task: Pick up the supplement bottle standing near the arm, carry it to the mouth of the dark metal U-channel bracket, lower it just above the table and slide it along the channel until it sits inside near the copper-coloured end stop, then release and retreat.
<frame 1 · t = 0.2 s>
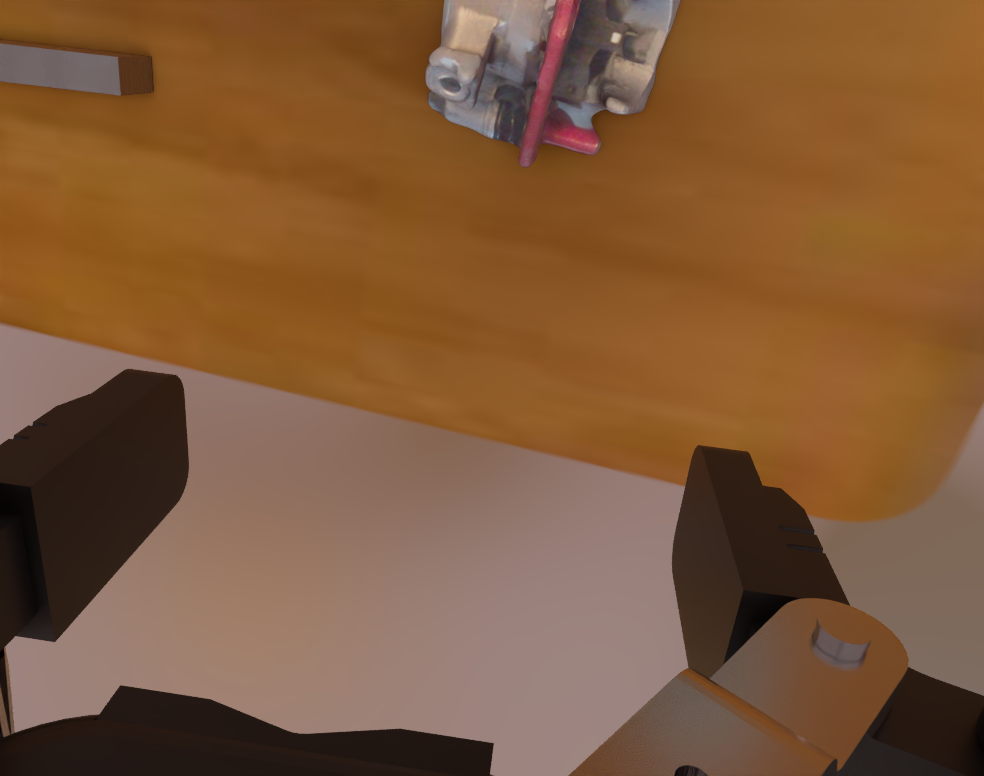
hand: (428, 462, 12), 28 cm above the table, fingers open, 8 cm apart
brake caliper: (556, 23, 36), on the table
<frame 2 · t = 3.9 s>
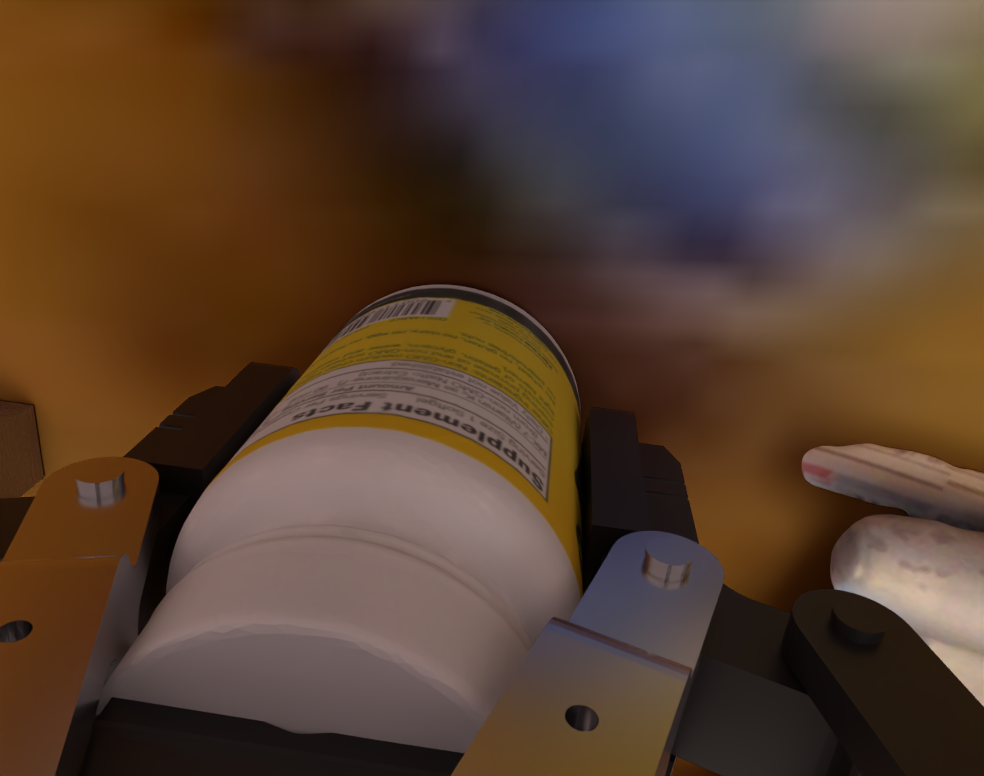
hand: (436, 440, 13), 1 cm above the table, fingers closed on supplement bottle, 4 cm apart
supplement bottle: (452, 401, 15), on the table, touching gripper
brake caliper: (920, 698, 16), on the table
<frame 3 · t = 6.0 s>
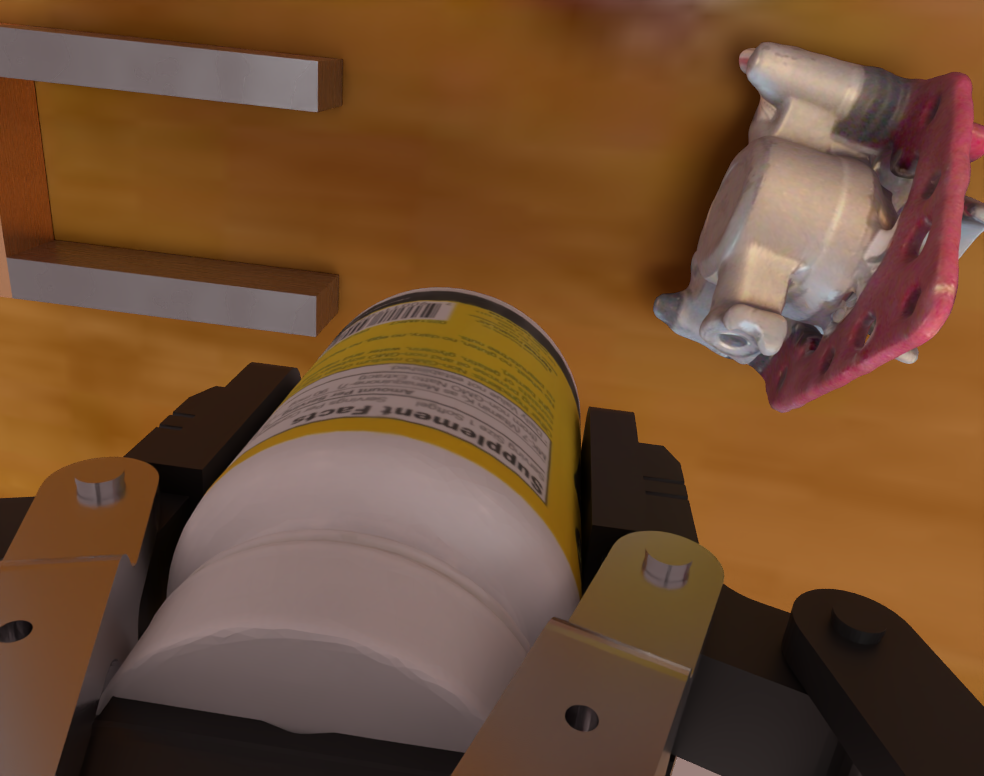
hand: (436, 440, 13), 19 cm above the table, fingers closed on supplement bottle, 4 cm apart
supplement bottle: (452, 403, 15), point 18 cm above the table, touching gripper
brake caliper: (803, 217, 30), on the table
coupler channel: (190, 176, 31), on the table
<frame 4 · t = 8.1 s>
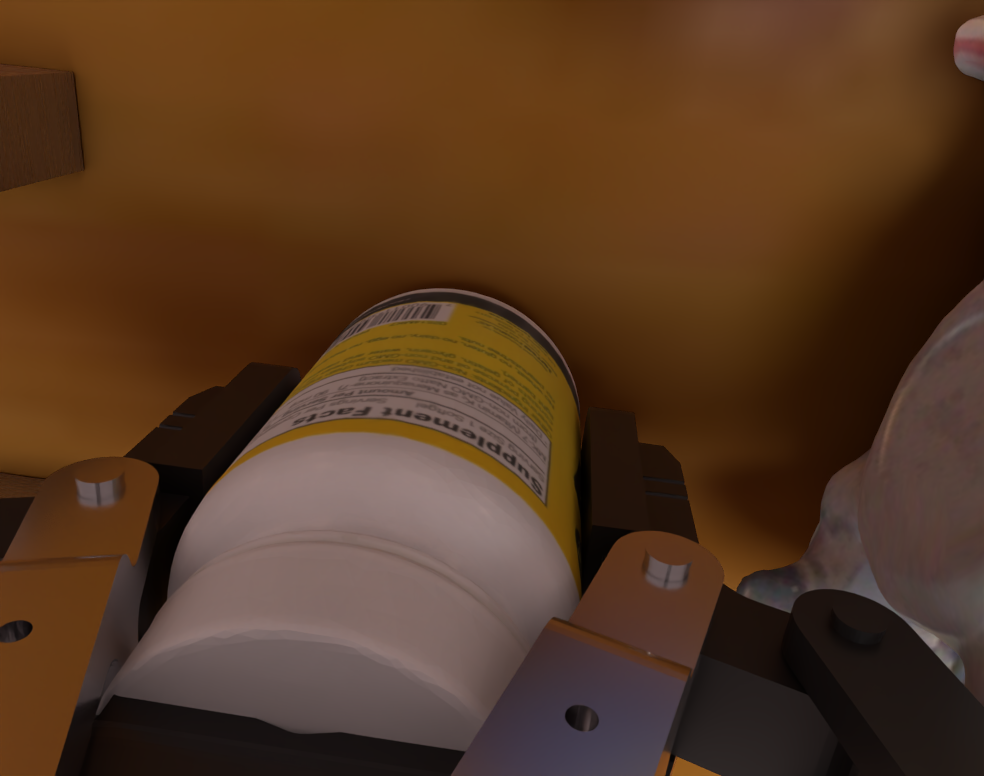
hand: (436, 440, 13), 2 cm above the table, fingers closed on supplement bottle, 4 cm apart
supplement bottle: (452, 404, 15), on the table, touching gripper
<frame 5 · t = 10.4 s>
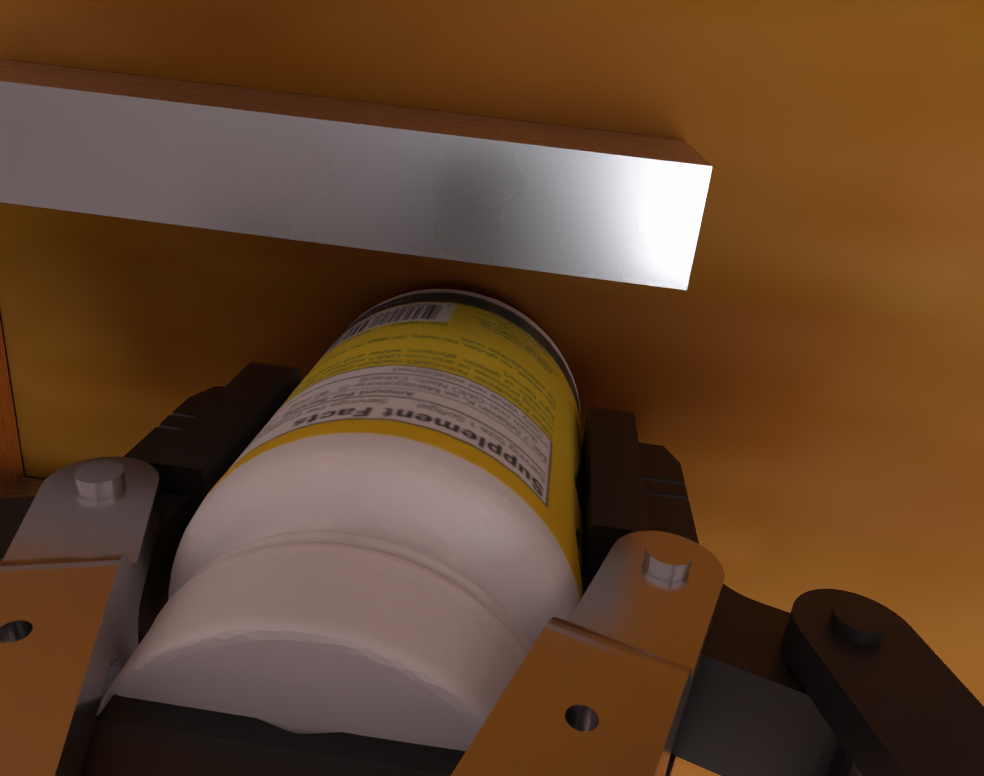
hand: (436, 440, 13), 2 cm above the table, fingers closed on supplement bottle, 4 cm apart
supplement bottle: (453, 404, 15), on the table, touching gripper
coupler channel: (309, 370, 15), on the table
when the fingers open (2 cm above the table, at t = 12.5 s): supplement bottle stays where it is, on the table.
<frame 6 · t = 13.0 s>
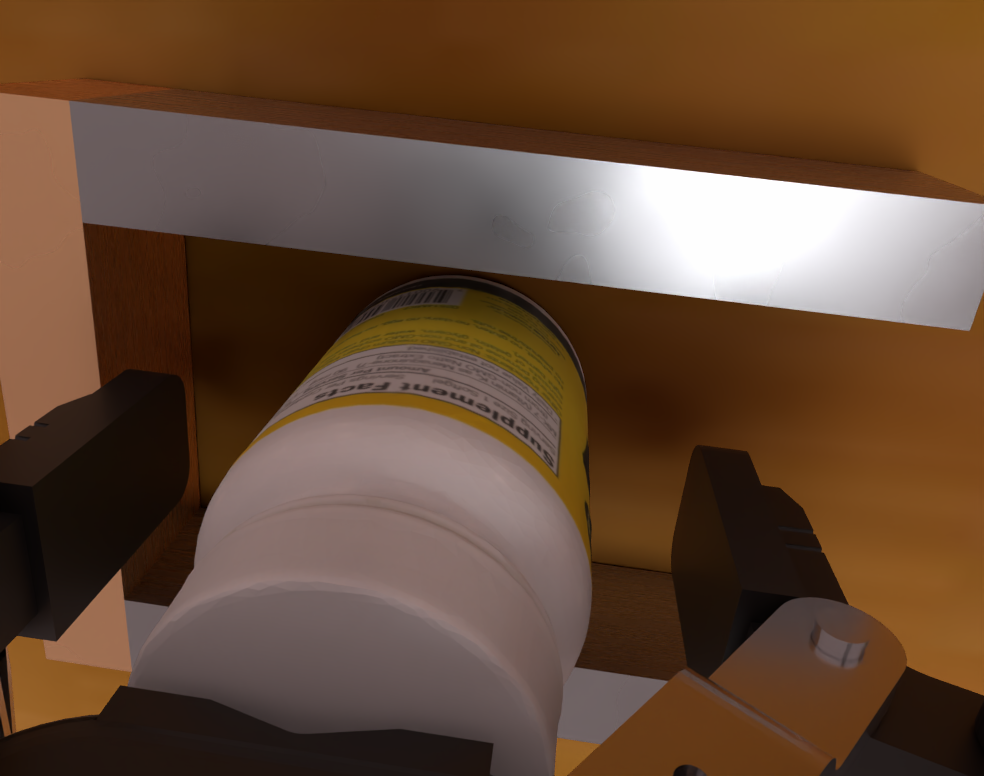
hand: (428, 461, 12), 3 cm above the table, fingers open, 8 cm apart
supplement bottle: (462, 389, 15), on the table
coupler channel: (506, 402, 15), on the table
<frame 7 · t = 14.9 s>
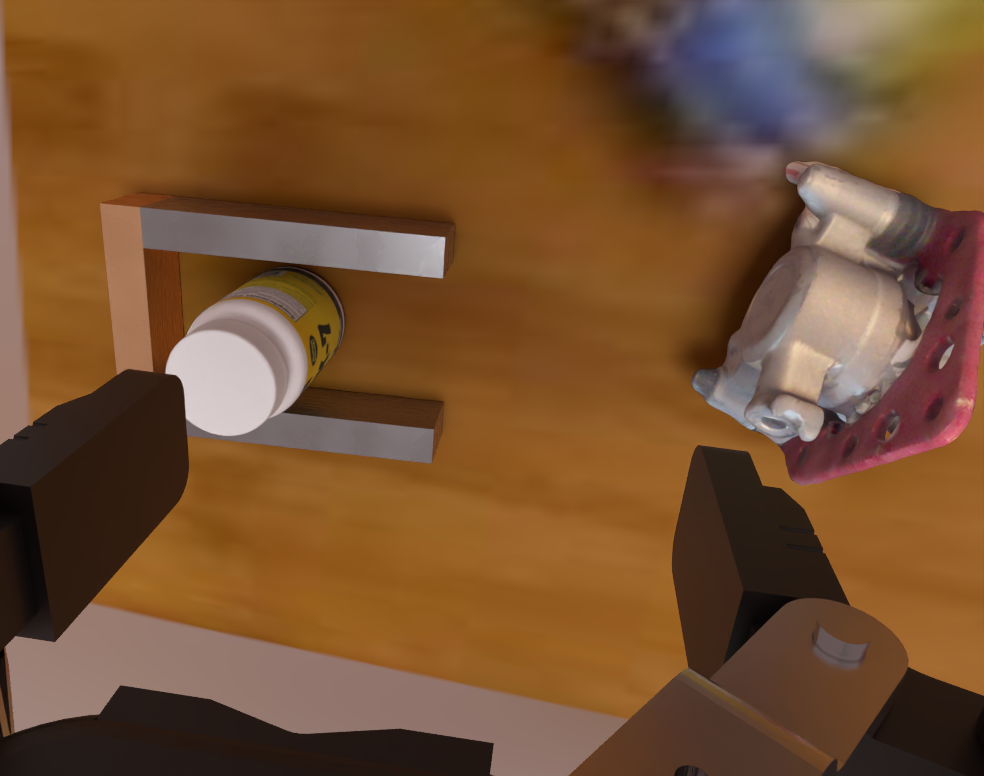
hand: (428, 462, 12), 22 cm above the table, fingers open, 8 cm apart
supplement bottle: (296, 315, 36), on the table
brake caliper: (826, 310, 34), on the table
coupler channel: (313, 320, 35), on the table
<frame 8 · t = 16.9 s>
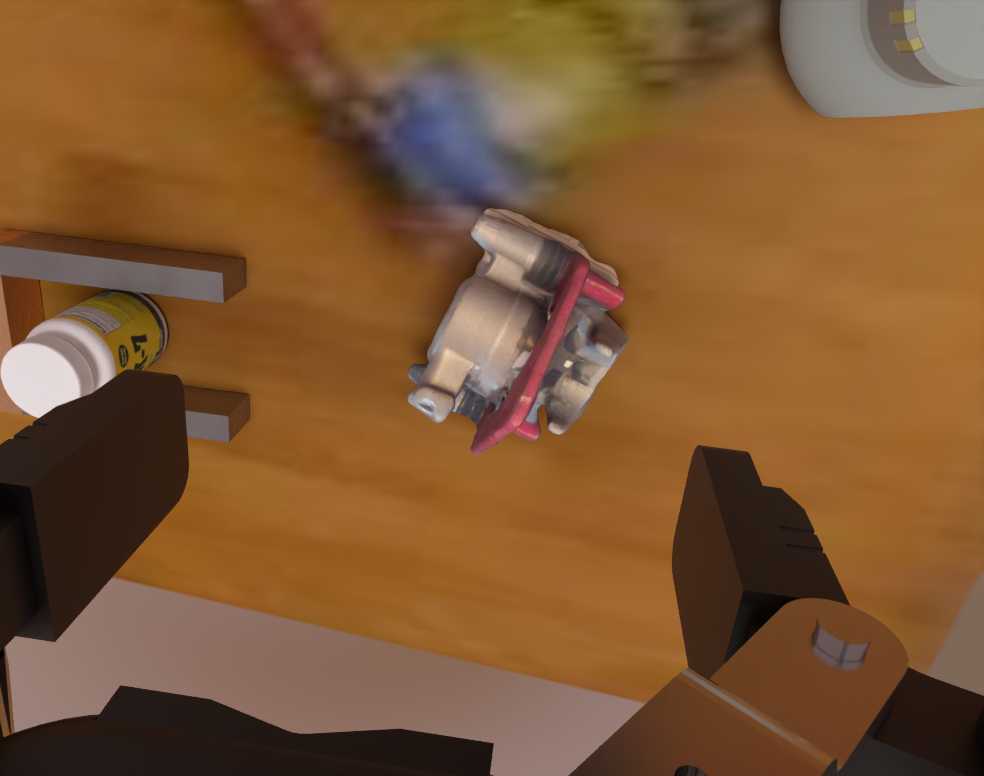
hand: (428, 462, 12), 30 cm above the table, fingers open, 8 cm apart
supplement bottle: (132, 325, 46), on the table
air freshener: (891, 6, 36), on the table
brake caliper: (525, 322, 43), on the table
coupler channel: (145, 328, 46), on the table
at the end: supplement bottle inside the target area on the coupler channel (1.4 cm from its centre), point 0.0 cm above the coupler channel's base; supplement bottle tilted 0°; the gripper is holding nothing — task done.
